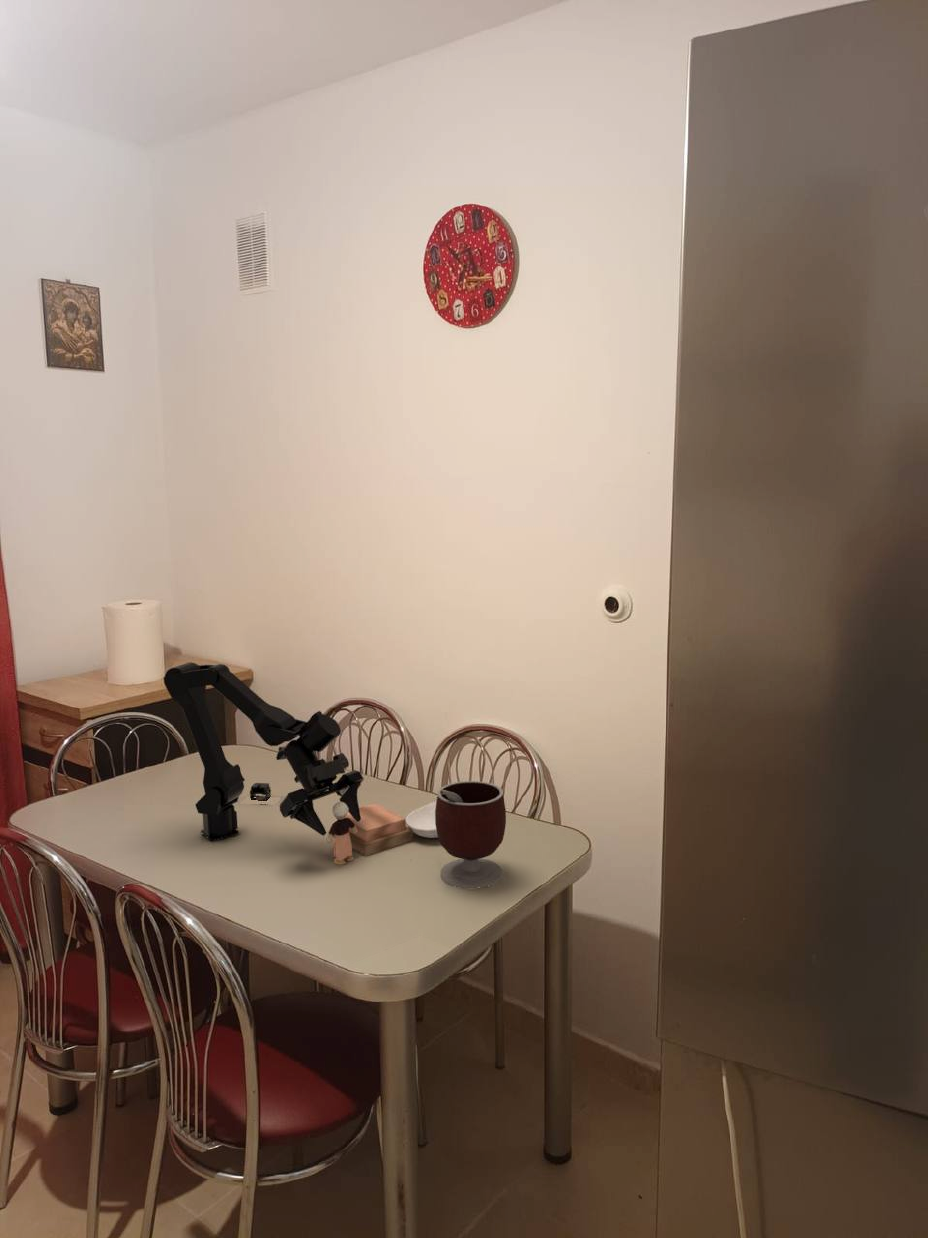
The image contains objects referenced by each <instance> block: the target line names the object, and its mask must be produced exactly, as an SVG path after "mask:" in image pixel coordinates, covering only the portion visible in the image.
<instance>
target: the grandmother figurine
mask: <svg viewBox="0 0 928 1238" xmlns="http://www.w3.org/2000/svg"><path fill="white" fill-rule="evenodd" d="M348 810H349V808H348V807H347V805H346V804H345V803H344V802H341V801H338V802H336V803H335V804H334V805H333V806H332V813H333V816H334V817H335V819H336V821H335V822H333V823H332V824H331V826H330V828H329V830H328V832H327V833H328V835H327V838H326V842H327V843H330V844H331V843H332V841H333V838H334V843H333V844H334V845H333V857H334V860H333V864H335V865H340V866H344V865H346V864H347V862H352V861H354V857H353V848H352V845H351V840H350V835H349V828H351V830H353V833H357V832H358V830H357V829H356V826H355V824H354V823H353V822H352V821H351V820H350V819H349V818H345V817H346V815H347V813H348ZM334 835H335V837H334Z"/></svg>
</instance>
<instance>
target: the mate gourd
mask: <svg viewBox="0 0 928 1238" xmlns="http://www.w3.org/2000/svg"><path fill="white" fill-rule="evenodd" d="M435 801H436V809H435V825H436V830H437V835H438V838H437V839H438V841H439V844H440V845H441V846H442V848H443V849H444V850H445V851H446V853H448V854H449V855H451V856H452V857H454V858H456V859H455V860H452V861H449V862H447V863H446V864H444V865H443V866H442V867H441V869H440V878H441V880H442V881H443V882H444V883H445V884H447V885H449V886H451V885H452V886H451V887H454V886H456V887H455V888H457V887H460V888H459V889H464V888H478V887H484V886H488V885H491V886H493V885H495V884H497V883H499V882H500V880H501V879H502V878H501V877H503V869H502V867H501V866H500V865H499V864H498V863H496V862H495V861H492V860H489V859H486V858H487V857H490V856H491V855H493V854H494V853H495V852H496V851H497V849H498V848H499V847H500V845H501V844H502V842H503V841H504V836H505V831H506V825H507V824H506V823H507V815H506V813H507V812H506V811H507V809H506V804H505V803H506V802H505V799H504V792H503V789H502V788H501V787H500V786H498V785H497V784H494V783H491V782H487V781H478V780H466V781H465V780H464V781H457V782H453V783H448V784H446V785H443V786H442V787H440V788H439V789H438V791H437V796H436V800H435ZM496 882H497V883H496ZM494 883H495V884H494ZM492 884H493V885H492ZM488 887H489V886H488ZM484 888H485V887H484ZM478 889H479V888H478Z"/></svg>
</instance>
